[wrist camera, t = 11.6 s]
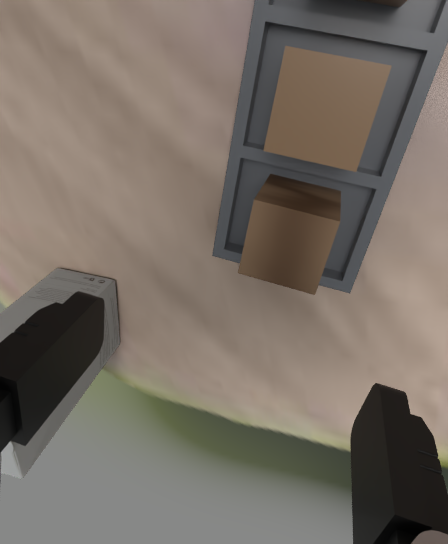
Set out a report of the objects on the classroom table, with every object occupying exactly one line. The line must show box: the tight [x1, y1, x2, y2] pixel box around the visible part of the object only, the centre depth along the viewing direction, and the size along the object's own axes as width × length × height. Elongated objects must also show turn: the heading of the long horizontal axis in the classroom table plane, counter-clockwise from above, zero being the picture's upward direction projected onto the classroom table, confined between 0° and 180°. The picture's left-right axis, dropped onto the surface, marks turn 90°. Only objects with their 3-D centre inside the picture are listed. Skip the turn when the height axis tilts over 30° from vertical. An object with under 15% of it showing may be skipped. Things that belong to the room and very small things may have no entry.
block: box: [238, 174, 341, 295], centre depth 26 cm, size 5×5×6 cm
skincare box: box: [0, 268, 120, 479], centre depth 33 cm, size 8×7×16 cm
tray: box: [212, 0, 448, 293], centre depth 23 cm, size 11×24×7 cm, turn 170°
